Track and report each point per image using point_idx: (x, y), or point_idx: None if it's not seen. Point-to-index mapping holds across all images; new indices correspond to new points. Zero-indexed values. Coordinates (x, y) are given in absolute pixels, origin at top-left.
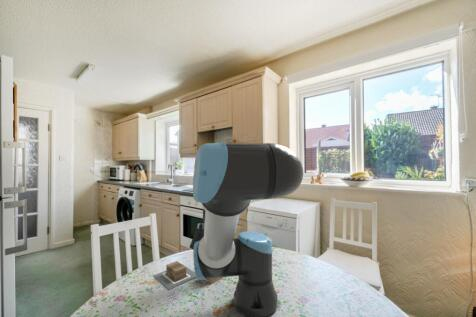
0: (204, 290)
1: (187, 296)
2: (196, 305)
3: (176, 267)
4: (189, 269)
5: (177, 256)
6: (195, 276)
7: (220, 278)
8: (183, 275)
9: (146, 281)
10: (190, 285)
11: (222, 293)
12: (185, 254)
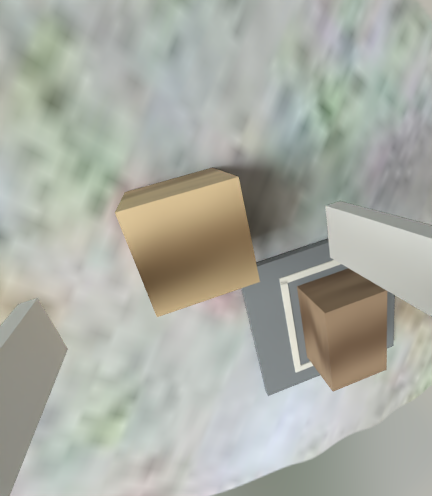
0: (265, 129)
1: (352, 127)
2: (354, 17)
3: (364, 328)
4: (259, 343)
5: (254, 464)
6: (260, 270)
7: (140, 189)
8: (318, 287)
9: (416, 320)
10: (303, 213)
11: (188, 28)
12: (217, 475)
